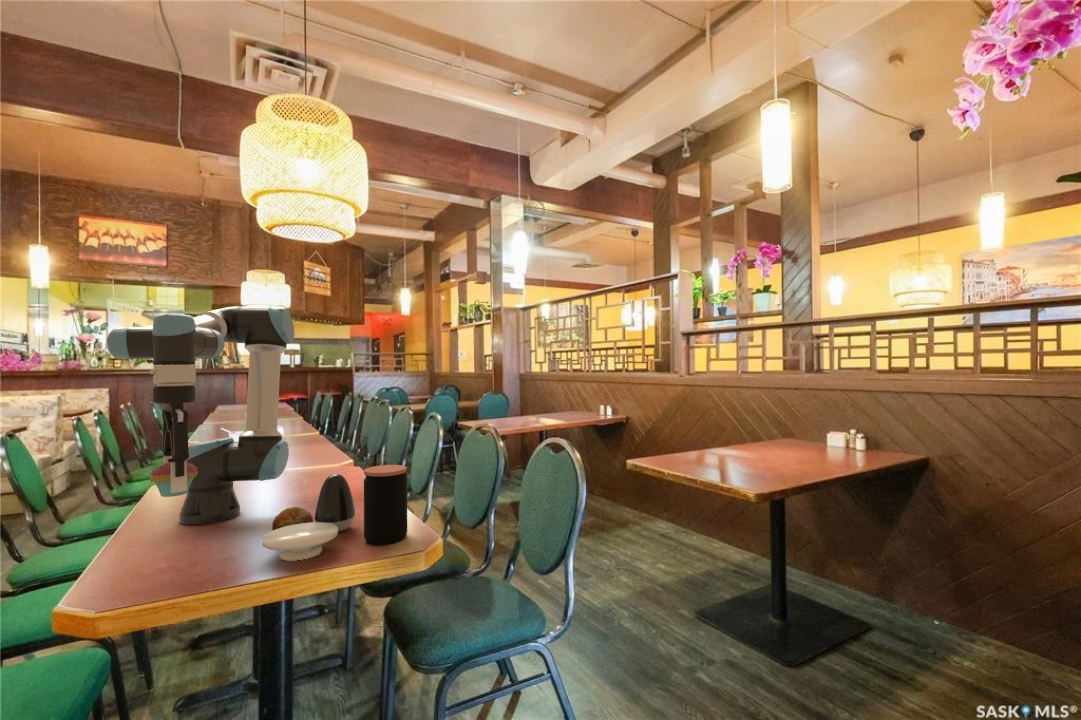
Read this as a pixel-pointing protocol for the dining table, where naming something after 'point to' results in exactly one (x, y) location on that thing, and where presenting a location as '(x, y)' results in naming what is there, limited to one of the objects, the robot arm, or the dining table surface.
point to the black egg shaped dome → (335, 503)
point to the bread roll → (292, 517)
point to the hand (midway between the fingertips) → (175, 487)
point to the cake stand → (300, 540)
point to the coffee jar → (385, 504)
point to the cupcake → (164, 479)
